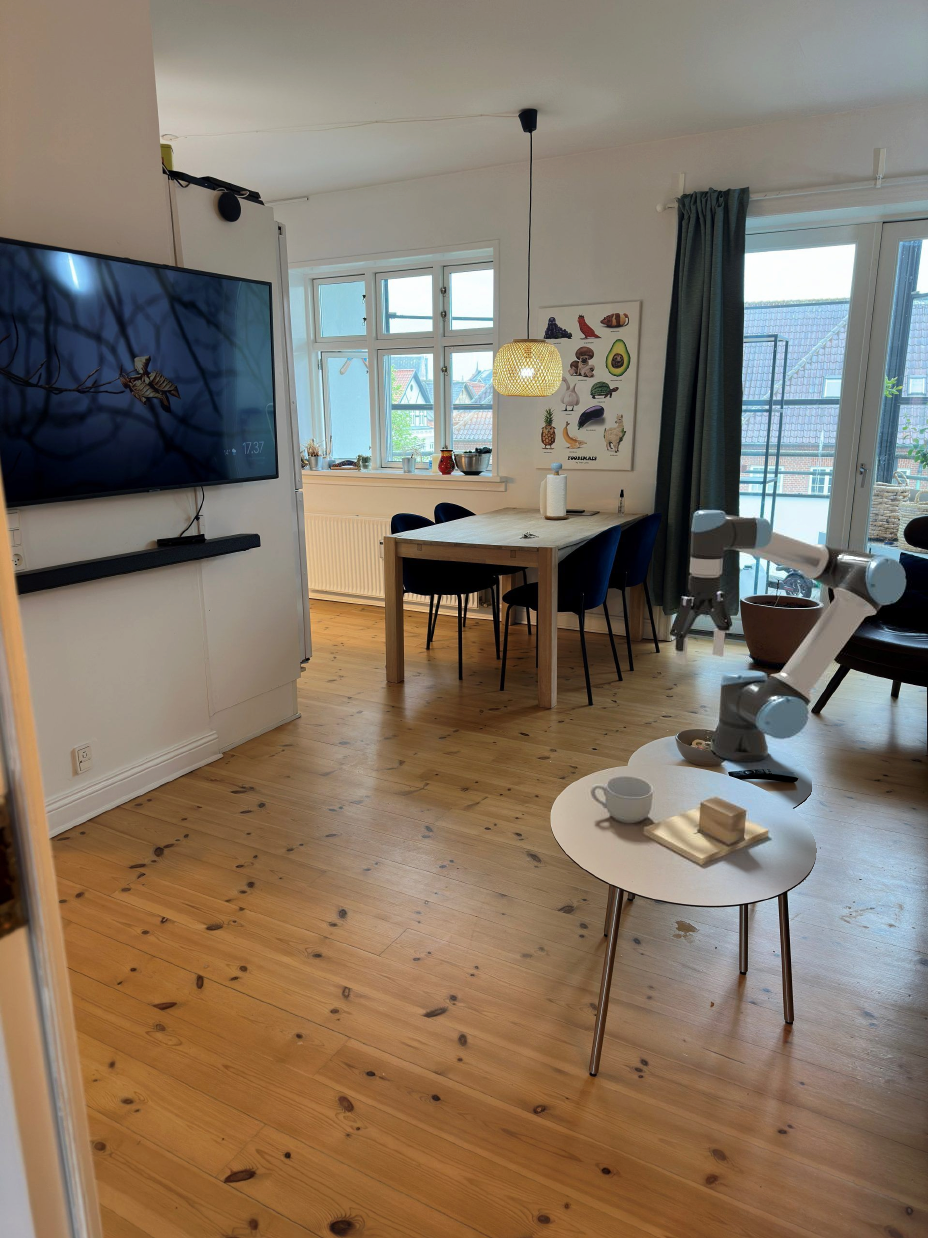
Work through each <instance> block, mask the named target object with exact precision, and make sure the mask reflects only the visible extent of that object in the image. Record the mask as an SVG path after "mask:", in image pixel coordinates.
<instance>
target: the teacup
mask: <svg viewBox="0 0 928 1238" xmlns="http://www.w3.org/2000/svg"><path fill="white" fill-rule="evenodd" d="M598 789H599V790H601V791H602V792H603V795H604V796H605V797H604V798H605V800H604V799H602V798H600V797H599V796H598V795H597V794H596V792H595V791H596V790H598ZM653 793H654V786H653V785H652V783H650V782H649V781H647V780H646V779H644V778H641V777H637V776H634V775H633V776H632V775H617V776H613V777H611V778H610V779H608V780H607V782H606V783H605V784H602V783H596V784H595V783H594V785H592V786H591V788H590V796H591V797H592V799H593V800H594V802H596V803H598V804H599V805H601V806H602V807H603V809H605V810H606V811H607V812H608V814H609V815H610V816H611V817H613V818H614V819H615V820H616V821H618V822H620V823H625V824H636V823H639V822H641V821H642V820H644V819H646V818H647V817H648V816H649V815H650V814H651V811H652V806H653V805H652V803H653Z"/></svg>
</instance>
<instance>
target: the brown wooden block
mask: <svg viewBox="0 0 928 1238" xmlns="http://www.w3.org/2000/svg"><path fill="white" fill-rule="evenodd" d="M699 803H700V804H699V805H700V806H699V807H700V817H699V829H697V832H699V833H701V834H703V835H705V836H707V837H709V838H711V839H713V840H715V841H717V842H719V843H721V844H723V845H725V846H727V847H731V846H733V845H736V844H738V843H740V842H743V841H745V837H744V833H745V821H746V820H747V810H746V809H745V808H743V807H741V806H739V805H736V804H734V803H731V802H729V801H727V800H725V799H722V798H720V797H719V796H712V797H710V798H708V799H705V800H703V801H700V802H699Z"/></svg>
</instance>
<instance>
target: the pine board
mask: <svg viewBox="0 0 928 1238" xmlns="http://www.w3.org/2000/svg"><path fill="white" fill-rule="evenodd" d="M699 817H700V806H698V807H696V808H693V809H690V810H688V811H685V812H683V813H679V814H677V815H675V816H672V817H669V818H666V819H663V820H661V821H658V822H656V823H653V824H650V825H647V826H644V827H643V835H645V836H647V837H648V838H649V839H652V840H654V841H656V842H658V843H660V844H661V845H663V846H665V847H666V848H668V849H671V850H672V851H675V852H676V853H678V854H680V855H682V856H684V857H685V858H687V859H689V860H691V861H692V862H695V863H697V864H699V865H700V866H702V865H704V864H707V863H710V862H712V861H713V860H715V859H716V860H717V859H718V858H721V857H722V856H725V855H728V854H730V853H732V852H735V851H737V850H739V849H741V848H744V847H746V846H748V845H751V844H753V843H755V842H758V841H760V840H762V839H765V838H767V837H769V834H770V833H769V831H770V830H769V829H768V828H766V827H763V826H762V825H759V824H757V823H755V822H753V821H750V820H749V819H746V821H745V833H744V837H745V841H743V842H740V843H738V844H736V845H733V846H731V847H727V846H725V845H723V844H721V843H719V842H717V841H715V840H713V839H711V838H709V837H707V836H705V835H703V834H701V833H699V832H697V829H699Z"/></svg>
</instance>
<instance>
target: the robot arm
mask: <svg viewBox="0 0 928 1238" xmlns="http://www.w3.org/2000/svg"><path fill="white" fill-rule="evenodd" d="M692 517H693V518H692V521H691V522H692V523H691V529H690V530H691V540H690V559H689V560H690V561H689V562H690V563H689V573H690V575H689V576H688V586H687V587H688V590H689V591H690V596H689V597H688V596H683V595H682V596H681V598H680V605H679V607H678V610H677V612H676V615H675V618H674V620H673V623H672V625H671V628H670V631H669V635H670V636H672V637H675V647H674V648H675V649H674V650H675V663H676V664H678V665H679V664H680V665H682V666H686V665H687V660H688V659H687V658H688V647H689V646H688V643H689V639H688V638H687V636H688V634H689V632H690V630H691V628H692V627H693V625H694V624H695V623H696V622H695V621H696V620H697V619H698V617H701V615H702V614H705V613H708V615H709V616H710V618H711V620H712V622H713V624H714V625H715V627H716V628H715V629H713V641H712V655H713V656H716V657H724V651H725V648H724V647H725V643H726V642H725V640H726V632H729V631H730V630H731V627H732V626H733V621H732V620H733V619H732V617H731V613H730V610H729V607H728V603H727V593H726V591H721V586H722V577H721V576H720V575H722V574H723V561H724V560H723V559H724V558H723V557H724V551H725V550H728V551H729V550H735V551H739V552H741V553H745V554H747V555H751V556H753V557H757V558H759V559H762V560H765V561H767V562H770V563H774V564H776V565H780V566H782V567H786V568H789V569H792V570H794V571H797V572H800V573H802V575H803V576H804V578H807V579H809V580H812V581H815V582H818V583H819V584H822V585H824V586H826V587H828V588H830V589H832V591H833V595H834V599H833V600H832V601H831V603H830V604H829V606H828V607H827V609H826V610H825V611H824V612H823V613H822V615H821V617H820V618H819V619H818V620H817V622H816V623H815V624H814V625H813V627H812V628H811V630H810V631H809V633H807V635H806V637H805V638H804V639H803V641H802V642H801V643H800V645H799V646H798V648H797V649H796V650H795V652H794V653H793V654H792V655H791V656H790V658H789V660H788V662H786V664H785V665H784V666H783V668H782V669H781V670H780V672H778V673H772V674H770V675H769V677H768V674H767V673H765V672H763V671H760V670H759V671H758V670H752V669H751V670H750V669H749V670H748V669H741V670H740V669H738V670H730V671H726V672H724V673H723V675H722V677H721V684H720V699H719V713H718V715H719V716H718V723H717V726H716V729H715V731H714V733H713V735H712V737H711V739H710V746H711V748H712V749H713V750H714V751H715V752H716V754H715V755H716V756H718V757H720V758H722V759H726V760H728V761H729V760H730V761H735V762H744V763H747V762H748V763H749V762H750V763H752V762H753V763H754V762H759V761H762V760H765V759H766V758H767V757H768V751H769V745H768V744H767V740H766V736H770V737H772V738H775V739H779V740H784V739H789V738H792V737H795V736H796V735H798V734H799V733H800V732H801V731H802V730H803V729H804V728H805V727H806V725H807V724H808V720H809V716H808V715H809V714H810V713H809V708H808V706H809V704H810V703H811V701H812V698H811V691H812V689H813V688H814V687H815V685H816V684H817V683H818V682H819V681H820V679H821V678H822V676H823V675H824V674H825V672H826V670H827V669H828V668H829V667H830V665H831V664H832V663H833V662H834V660H835V659H836V657H837V656H838V654H840V651H841V650H842V649H843V648H844V647H845V645H846V644H847V642H848V641H849V640H850V638H851V637H852V635H854V633H855V631H856V630H857V629H858V627H859V626H860V625H861V623H862V622H863V621H864V619H865V618H866V617H868V616H869V617H870V616H873V615H874V616H875V615H876V614H877V612H879V610H880V609H881V607H882V606H886V605H891V604H894V603H896V602H898V600H899V599H901V597H902V596H903V595H904V592H905V589H906V587H907V579H906V576H907V575H906V571H905V569H904V567H903V565H902V564H901V563H900V562H899V561H898V560H897V559H895V558H892V557H887V555H884V554H874V553H869V552H864V551H859V550H855V549H845V548H836V547H834V546H833V547H832V546H827V545H824V544H821V543H817V544H814V545H812V544H810V543H807V542H804V541H801V540H798V539H795V538H792V537H789V536H787V535H784V534H782V533H778V532H776V531H775V532H774V531H772V530H773V529H772V525H771V523H770V521H769V520H768V519H767V518H765V517H757V516H753V517H743V516H737V515H732V514H731V515H730V514H726V512H725V511H723V510H717V509H711V510H710V509H702V510H701V509H700V510H699V509H698V510H697V511H695V512H694V513H693V516H692ZM710 746H709V747H710Z"/></svg>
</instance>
